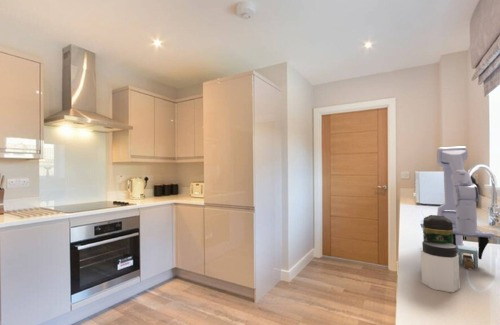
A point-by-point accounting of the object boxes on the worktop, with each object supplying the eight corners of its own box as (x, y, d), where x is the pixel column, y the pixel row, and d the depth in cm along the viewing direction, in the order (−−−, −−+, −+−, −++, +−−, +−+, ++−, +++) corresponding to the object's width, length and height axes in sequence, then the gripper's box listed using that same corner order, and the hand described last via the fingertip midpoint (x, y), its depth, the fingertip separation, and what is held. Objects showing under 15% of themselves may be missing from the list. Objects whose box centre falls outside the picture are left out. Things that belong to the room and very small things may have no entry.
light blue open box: (458, 260, 96) (457, 245, 96) (476, 263, 93) (476, 247, 93) (458, 264, 92) (458, 248, 92) (478, 267, 89) (477, 251, 89)
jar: (451, 295, 69) (449, 250, 69) (417, 284, 76) (416, 243, 76) (463, 287, 74) (462, 244, 74) (431, 277, 80) (430, 238, 81)
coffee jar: (423, 266, 90) (422, 212, 91) (452, 271, 86) (450, 214, 86) (424, 275, 82) (423, 217, 82) (456, 281, 77) (454, 219, 78)
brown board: (462, 258, 98) (462, 250, 98) (471, 259, 96) (470, 251, 96) (464, 268, 88) (464, 259, 88) (473, 269, 87) (473, 260, 87)
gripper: (441, 218, 95) (442, 255, 94) (495, 222, 86) (496, 264, 85) (441, 215, 100) (442, 250, 100) (492, 219, 91) (493, 258, 91)
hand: (467, 256), depth 93 cm, fingers open, 6 cm apart
